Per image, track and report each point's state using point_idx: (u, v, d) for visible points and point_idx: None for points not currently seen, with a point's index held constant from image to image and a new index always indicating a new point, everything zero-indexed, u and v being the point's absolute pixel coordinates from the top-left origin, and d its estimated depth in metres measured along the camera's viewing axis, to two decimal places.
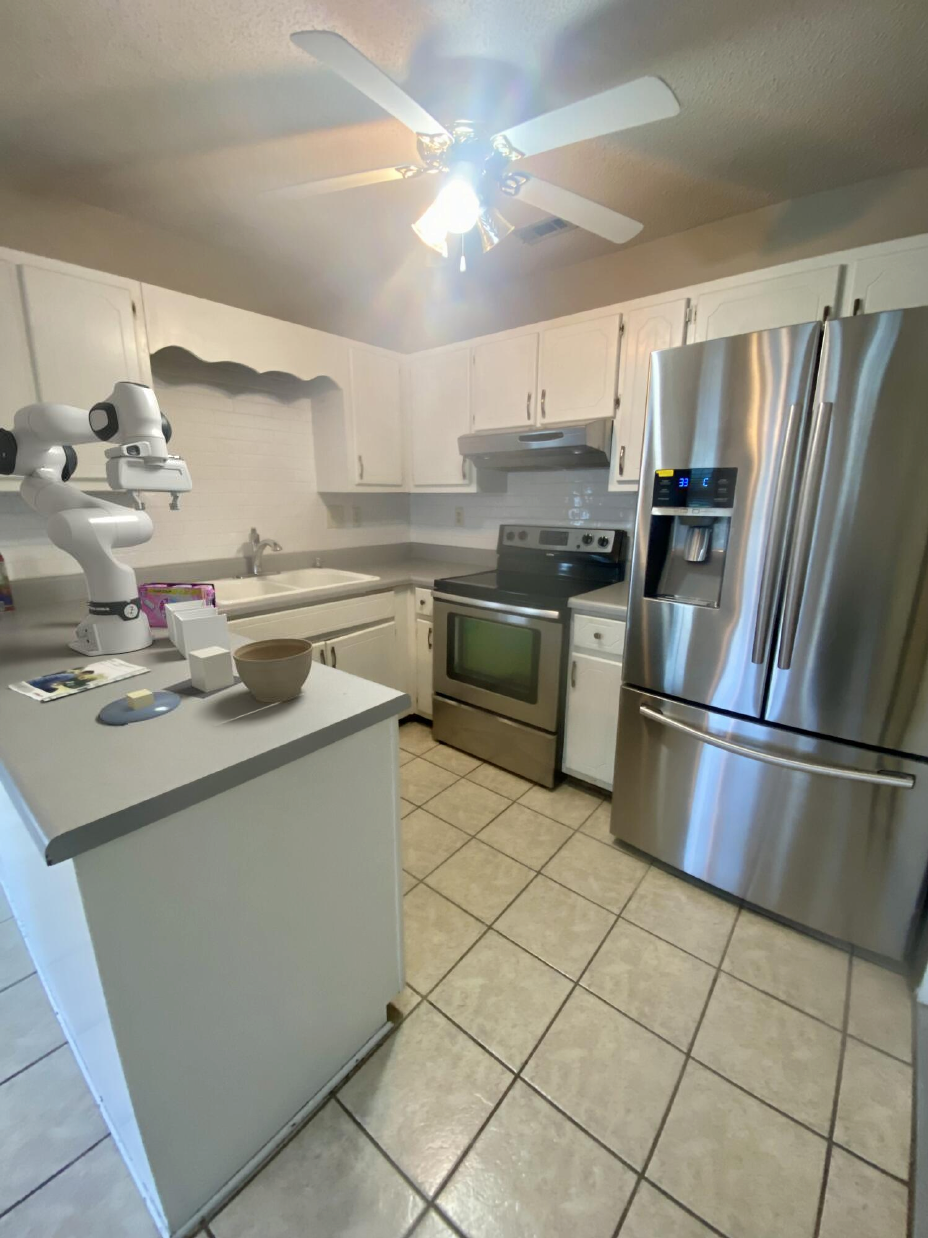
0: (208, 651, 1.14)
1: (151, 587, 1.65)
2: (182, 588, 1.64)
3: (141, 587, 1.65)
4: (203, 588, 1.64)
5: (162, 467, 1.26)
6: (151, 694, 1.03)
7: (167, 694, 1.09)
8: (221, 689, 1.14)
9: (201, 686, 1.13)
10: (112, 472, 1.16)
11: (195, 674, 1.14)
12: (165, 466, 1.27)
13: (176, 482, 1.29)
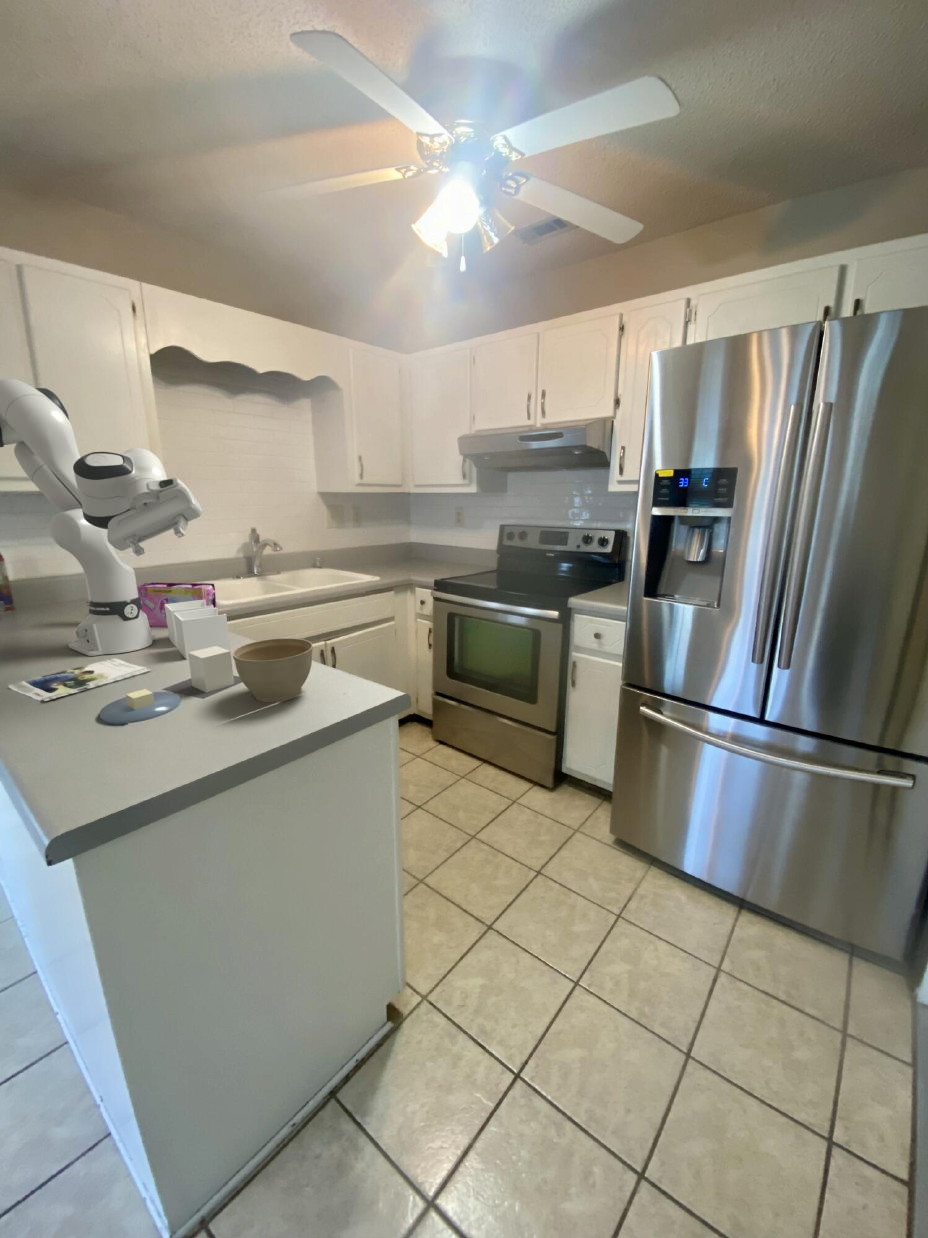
0: (208, 651, 1.14)
1: (151, 587, 1.65)
2: (182, 588, 1.64)
3: (141, 587, 1.65)
4: (203, 588, 1.64)
5: None
6: (151, 694, 1.03)
7: (167, 694, 1.09)
8: (221, 689, 1.14)
9: (201, 686, 1.13)
10: (196, 500, 1.16)
11: (195, 674, 1.14)
12: None
13: None
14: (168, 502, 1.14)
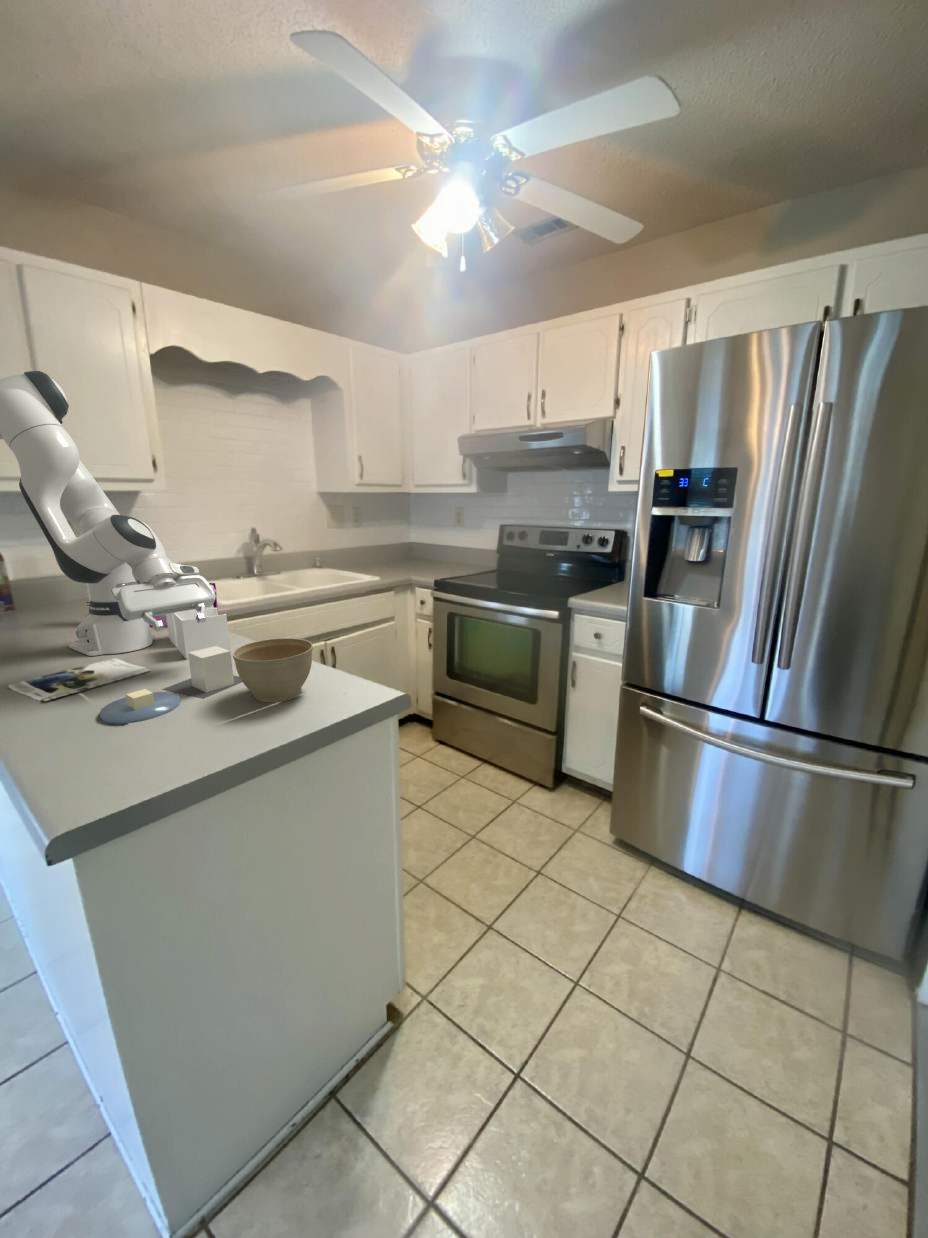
0: (208, 651, 1.14)
1: None
2: None
3: None
4: None
5: None
6: (151, 694, 1.03)
7: (167, 694, 1.09)
8: (221, 689, 1.14)
9: (201, 686, 1.13)
10: None
11: (195, 674, 1.14)
12: None
13: None
14: (187, 587, 1.23)
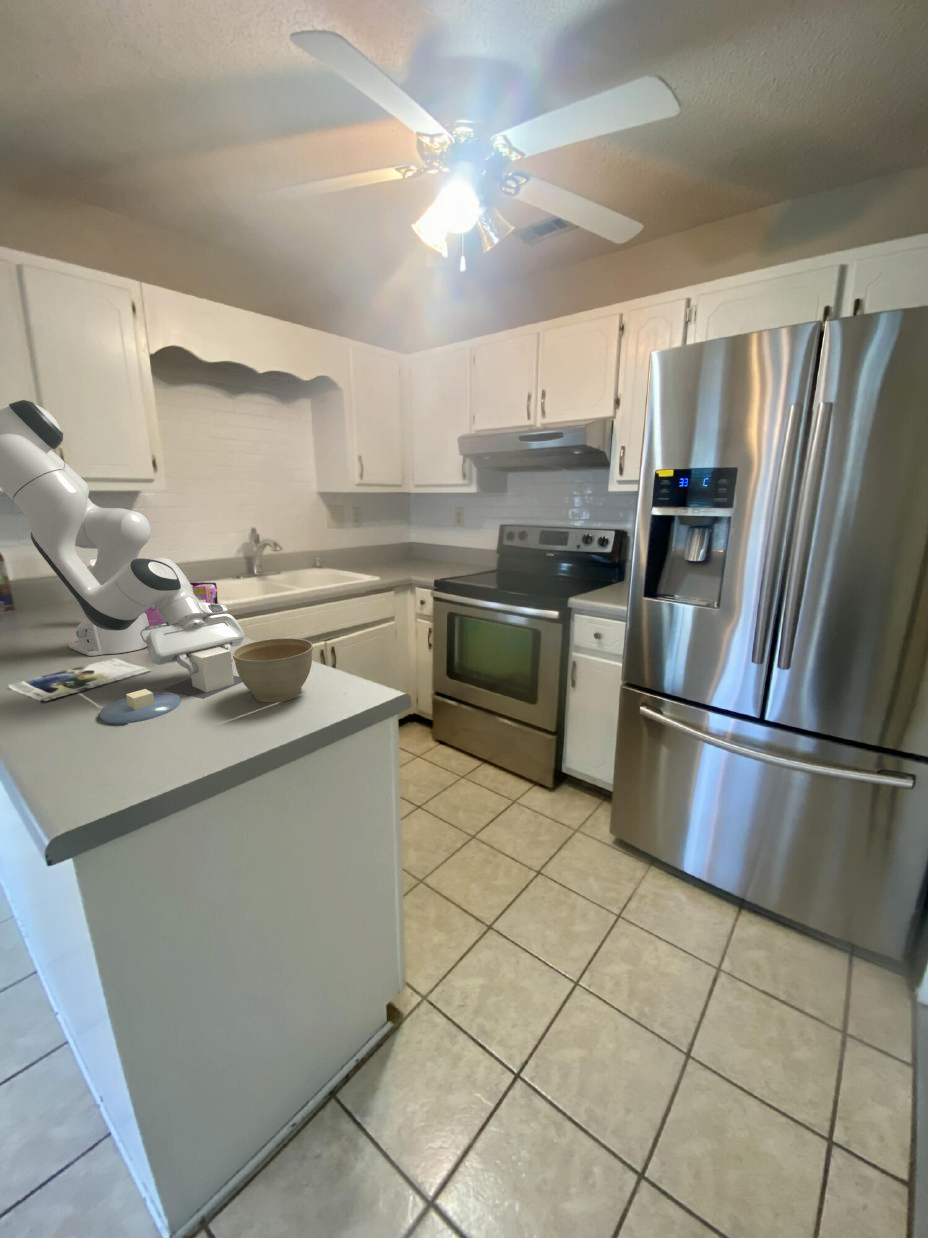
0: (208, 651, 1.14)
1: None
2: None
3: None
4: (207, 587, 1.66)
5: None
6: (151, 694, 1.03)
7: (167, 694, 1.09)
8: (221, 689, 1.14)
9: (201, 686, 1.13)
10: None
11: (195, 674, 1.14)
12: None
13: None
14: (215, 626, 1.20)
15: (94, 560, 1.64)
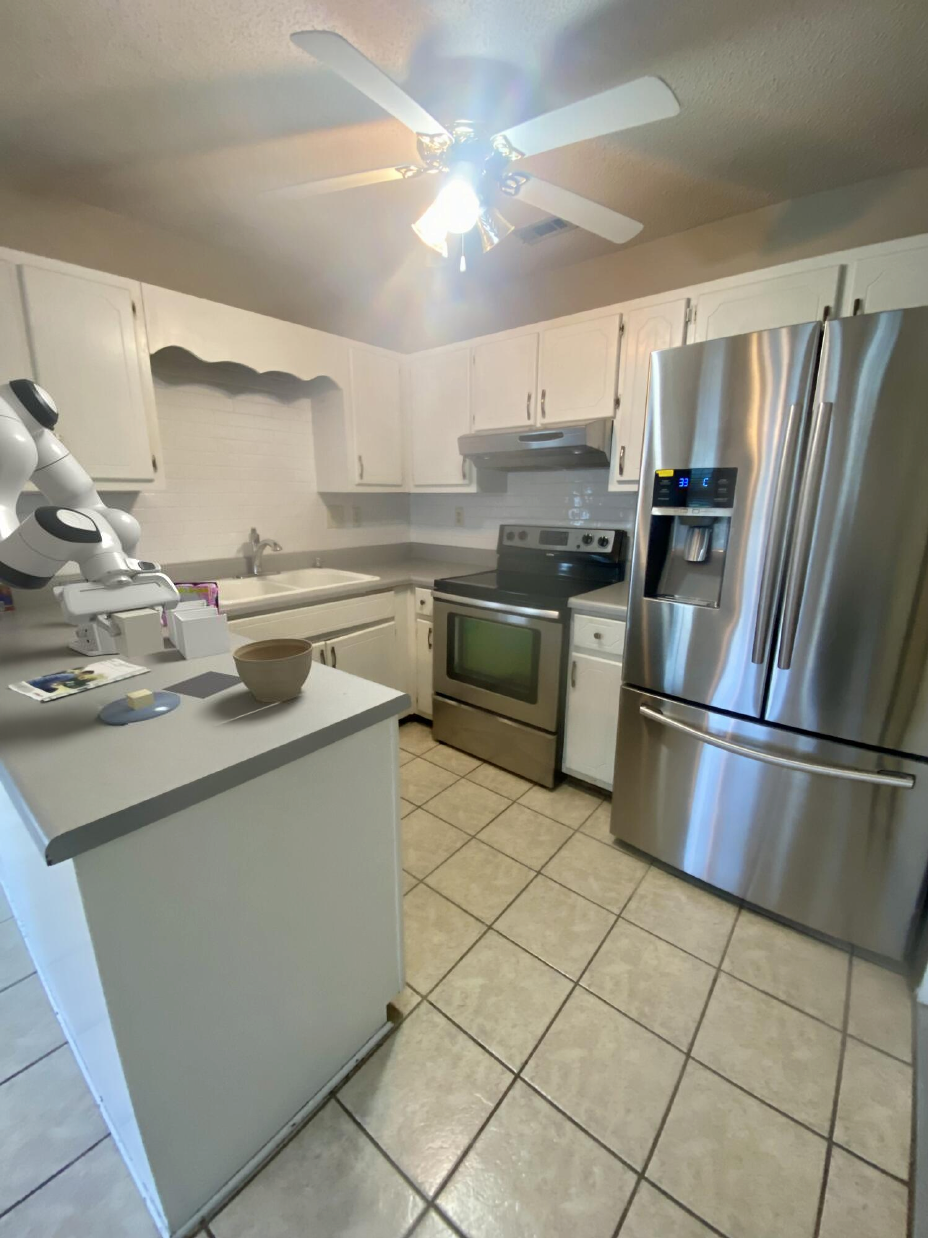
0: (134, 612, 1.00)
1: None
2: (187, 587, 1.66)
3: None
4: (209, 586, 1.67)
5: None
6: (151, 694, 1.03)
7: (167, 694, 1.09)
8: (221, 689, 1.14)
9: (123, 651, 0.99)
10: None
11: (118, 638, 0.99)
12: None
13: None
14: (145, 586, 1.06)
15: None
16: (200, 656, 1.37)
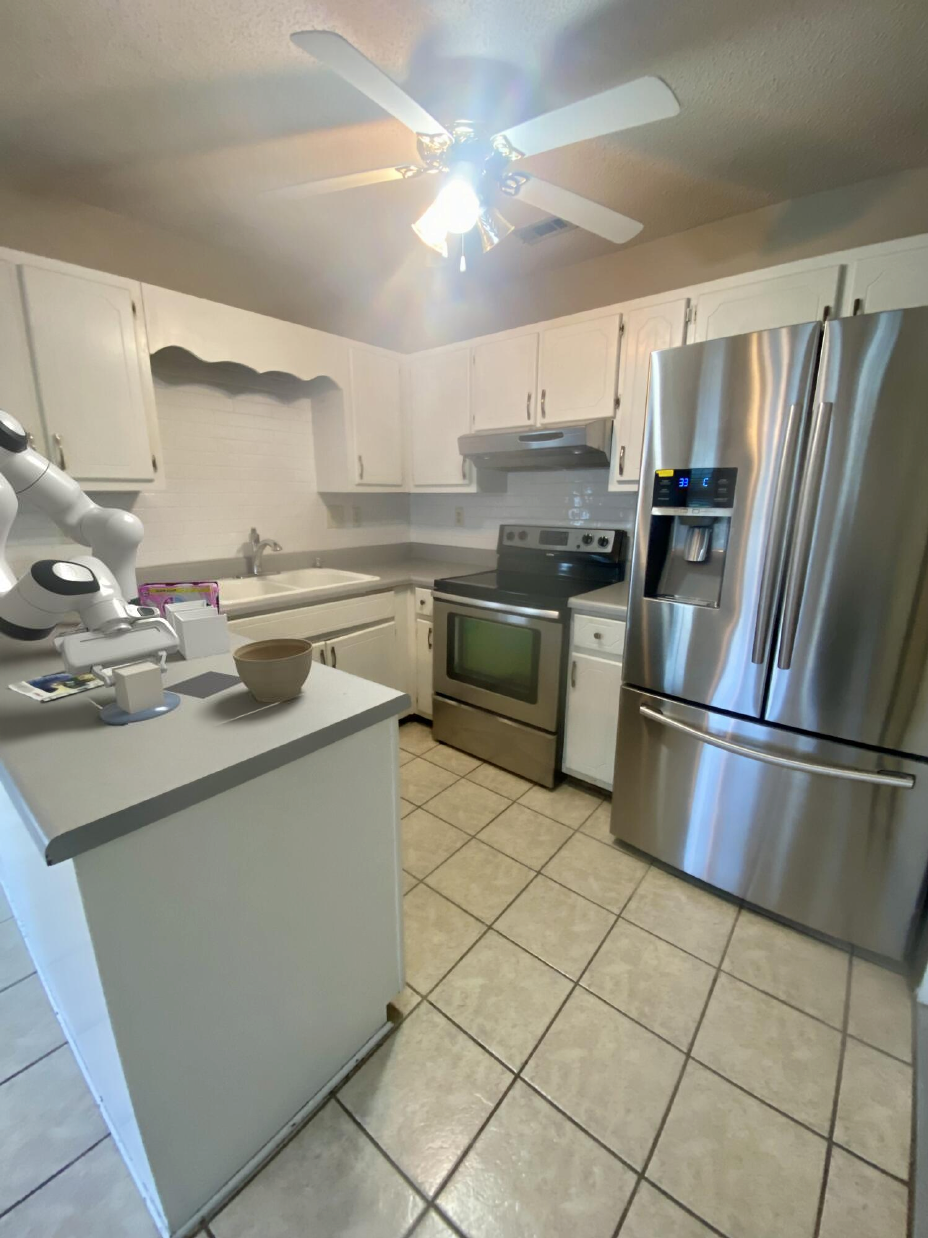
0: (135, 667, 1.02)
1: (153, 587, 1.65)
2: (189, 586, 1.67)
3: (142, 587, 1.65)
4: (211, 585, 1.69)
5: None
6: None
7: (167, 694, 1.09)
8: (221, 689, 1.14)
9: (125, 707, 1.01)
10: None
11: (119, 693, 1.01)
12: None
13: None
14: (145, 632, 1.07)
15: None
16: (200, 656, 1.37)
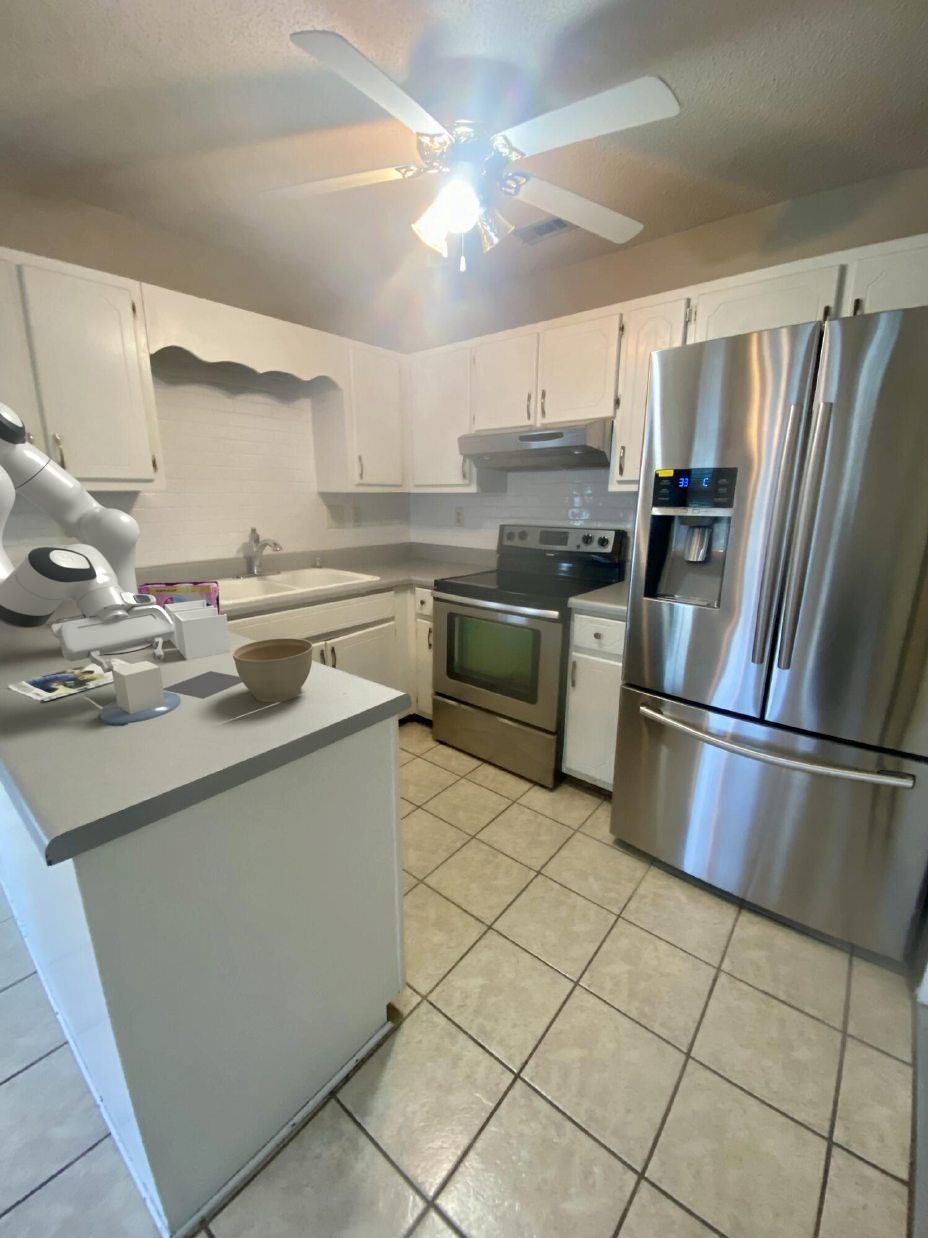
0: (135, 667, 1.02)
1: (154, 587, 1.65)
2: (189, 586, 1.67)
3: (142, 587, 1.65)
4: (211, 585, 1.69)
5: None
6: None
7: (167, 694, 1.09)
8: (221, 689, 1.14)
9: (125, 707, 1.01)
10: None
11: (119, 693, 1.01)
12: None
13: None
14: (141, 619, 1.09)
15: None
16: (200, 656, 1.37)
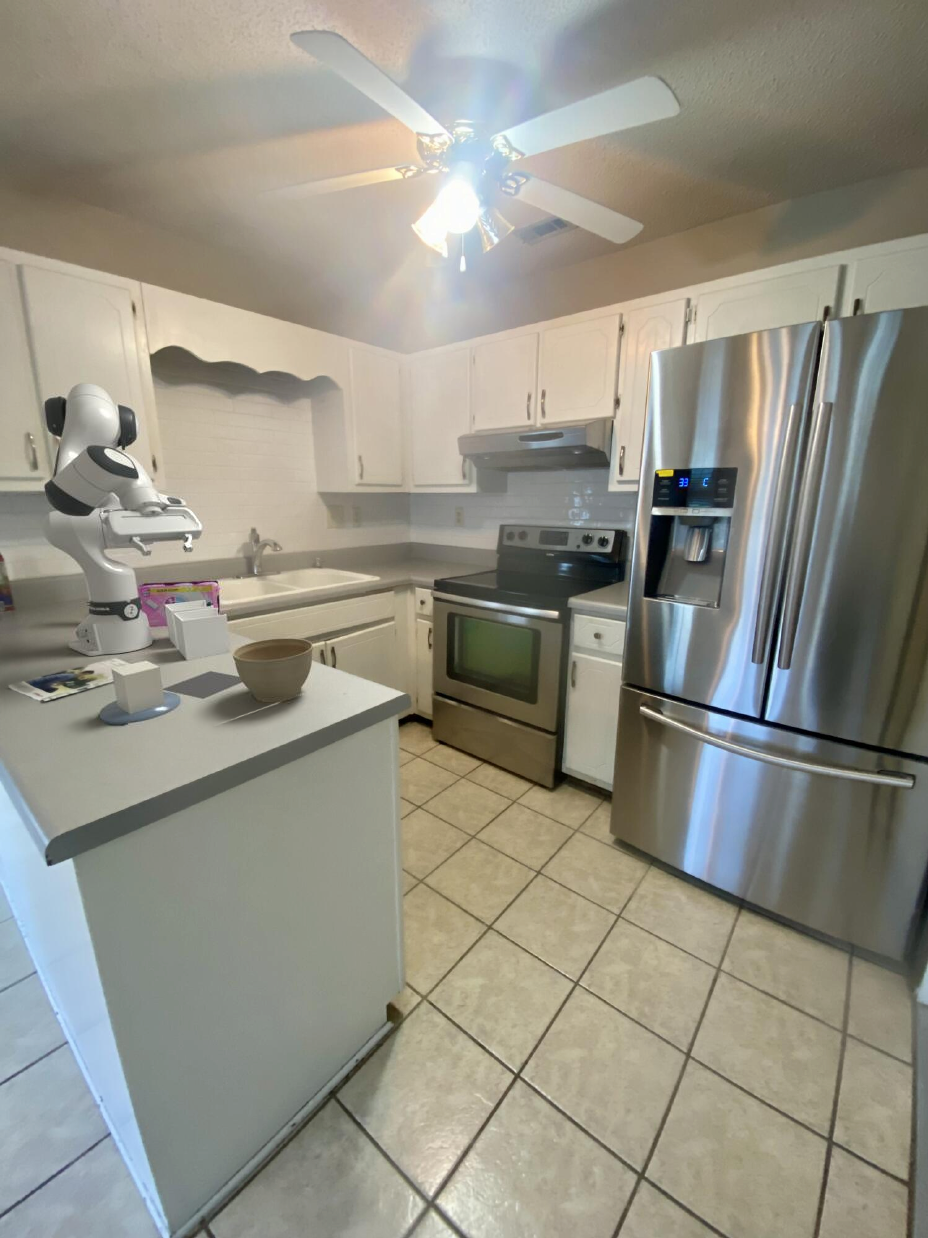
0: (135, 667, 1.02)
1: (154, 587, 1.65)
2: (191, 586, 1.68)
3: (142, 587, 1.64)
4: (213, 584, 1.71)
5: None
6: None
7: (167, 694, 1.09)
8: (221, 689, 1.14)
9: (125, 707, 1.01)
10: None
11: (119, 693, 1.01)
12: None
13: None
14: (174, 517, 1.26)
15: None
16: (200, 656, 1.36)
